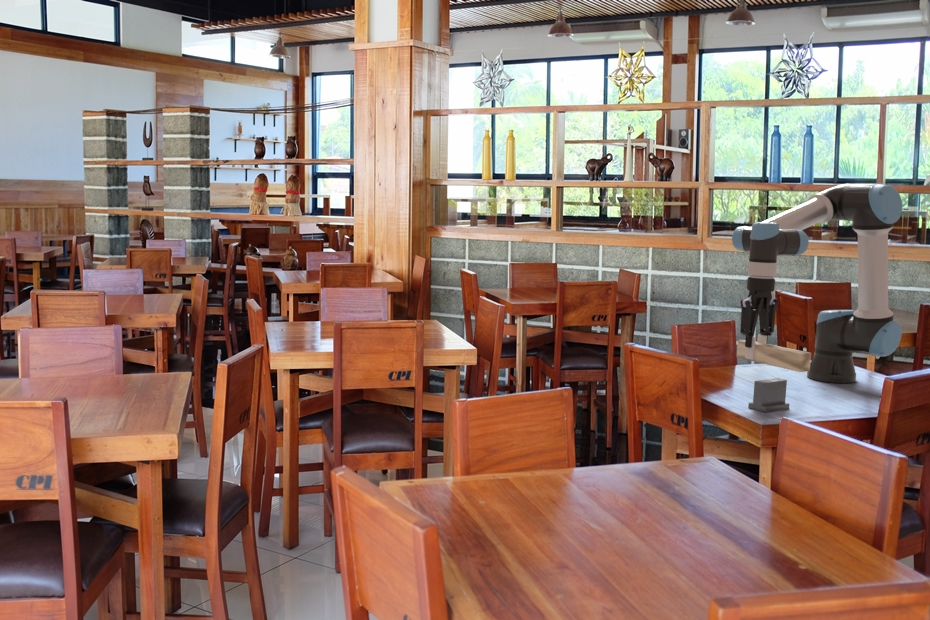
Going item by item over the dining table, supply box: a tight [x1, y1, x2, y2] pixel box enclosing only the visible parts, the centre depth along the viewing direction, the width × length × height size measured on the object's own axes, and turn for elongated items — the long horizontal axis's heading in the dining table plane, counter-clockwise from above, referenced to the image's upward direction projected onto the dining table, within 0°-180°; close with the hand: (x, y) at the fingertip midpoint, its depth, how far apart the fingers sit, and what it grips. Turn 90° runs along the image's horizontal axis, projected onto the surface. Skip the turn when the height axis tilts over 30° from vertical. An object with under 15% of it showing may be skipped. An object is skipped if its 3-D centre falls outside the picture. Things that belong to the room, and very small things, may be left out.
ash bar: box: [736, 339, 812, 373], centre depth 255 cm, size 4×22×5 cm, turn 32°
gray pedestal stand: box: [747, 377, 790, 414], centre depth 257 cm, size 10×6×8 cm, turn 122°
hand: (755, 357), depth 261 cm, fingers closed on ash bar, 4 cm apart
